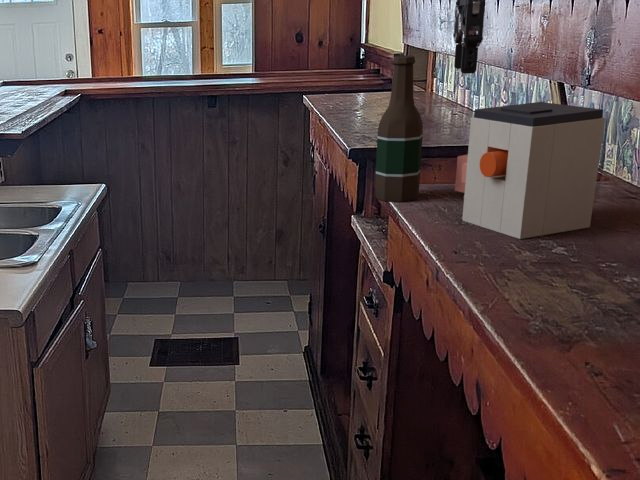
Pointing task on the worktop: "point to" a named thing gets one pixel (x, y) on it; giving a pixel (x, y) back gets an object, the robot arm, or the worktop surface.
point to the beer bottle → (399, 139)
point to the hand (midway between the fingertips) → (464, 70)
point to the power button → (494, 163)
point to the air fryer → (534, 168)
